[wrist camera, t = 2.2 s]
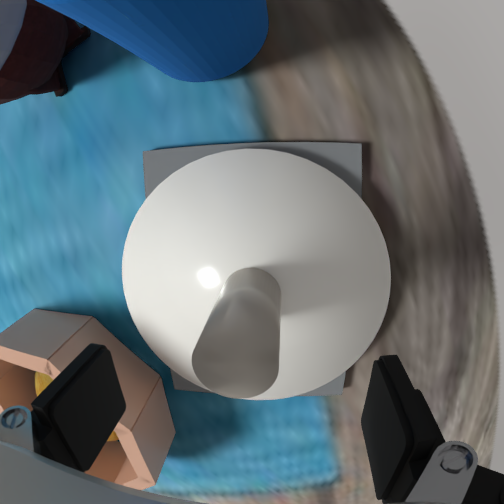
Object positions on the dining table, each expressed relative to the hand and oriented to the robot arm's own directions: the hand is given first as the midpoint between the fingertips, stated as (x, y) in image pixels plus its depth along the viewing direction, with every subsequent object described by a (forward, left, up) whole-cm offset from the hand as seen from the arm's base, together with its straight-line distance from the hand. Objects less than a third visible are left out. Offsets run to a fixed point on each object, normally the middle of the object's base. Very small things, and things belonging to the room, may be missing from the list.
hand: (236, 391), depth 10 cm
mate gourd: (-16, -13, -8) cm, 22 cm away
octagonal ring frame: (+9, -14, -8) cm, 19 cm away
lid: (-1, 0, -7) cm, 7 cm away
